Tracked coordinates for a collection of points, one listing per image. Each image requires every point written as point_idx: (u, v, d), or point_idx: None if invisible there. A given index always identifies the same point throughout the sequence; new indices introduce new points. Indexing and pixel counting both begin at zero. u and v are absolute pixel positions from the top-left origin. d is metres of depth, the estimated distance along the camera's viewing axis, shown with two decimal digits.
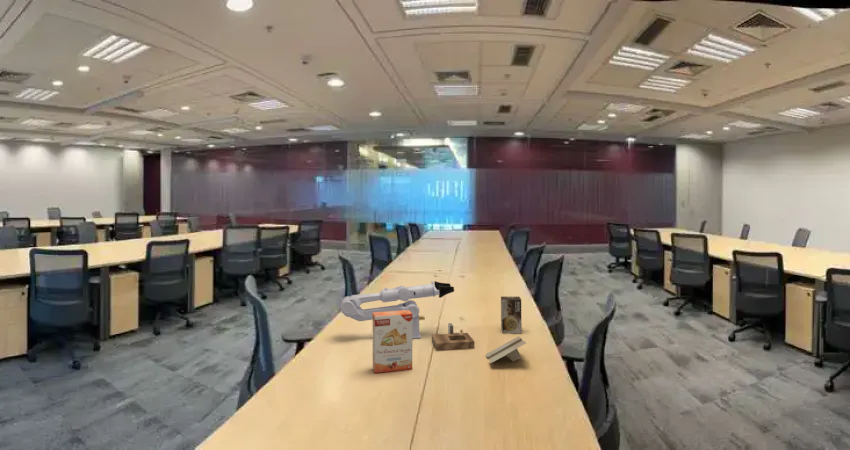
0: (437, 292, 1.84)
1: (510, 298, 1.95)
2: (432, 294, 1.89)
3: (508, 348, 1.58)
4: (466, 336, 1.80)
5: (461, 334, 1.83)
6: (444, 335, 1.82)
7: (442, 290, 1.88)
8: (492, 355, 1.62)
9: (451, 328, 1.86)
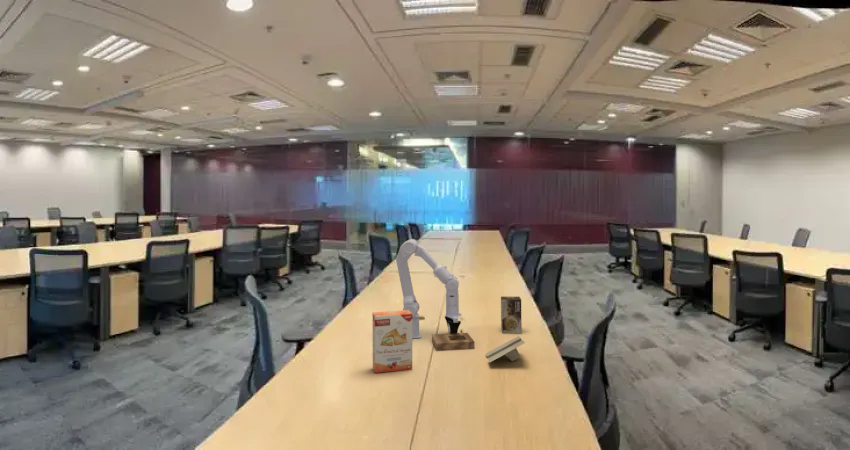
0: (456, 320, 1.81)
1: (510, 298, 1.95)
2: (449, 314, 1.86)
3: (507, 348, 1.59)
4: (466, 336, 1.80)
5: (461, 334, 1.83)
6: (444, 335, 1.82)
7: (454, 324, 1.85)
8: (492, 354, 1.63)
9: None
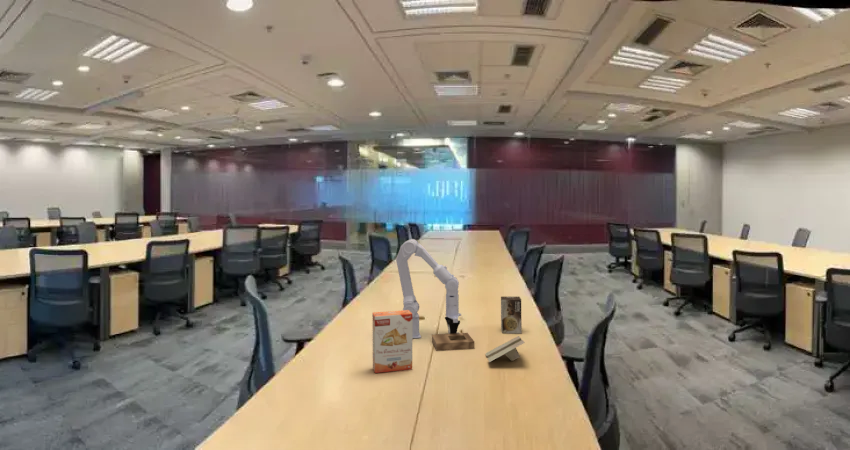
0: (456, 320, 1.81)
1: (510, 298, 1.95)
2: (449, 314, 1.86)
3: (507, 347, 1.59)
4: (466, 336, 1.80)
5: (461, 334, 1.83)
6: (444, 335, 1.82)
7: (453, 324, 1.86)
8: (491, 354, 1.63)
9: None
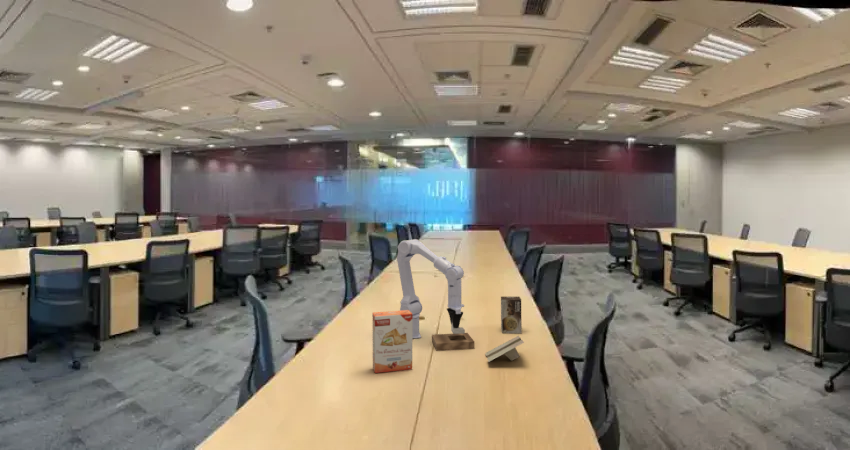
0: (458, 311, 1.71)
1: (510, 298, 1.95)
2: (452, 305, 1.75)
3: (506, 347, 1.59)
4: (466, 336, 1.80)
5: (461, 334, 1.83)
6: (444, 335, 1.82)
7: (456, 315, 1.75)
8: (491, 354, 1.64)
9: None
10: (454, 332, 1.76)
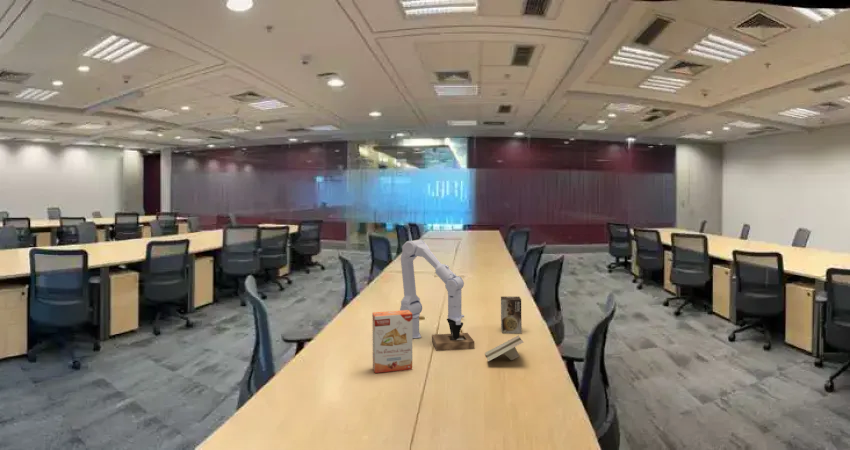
0: (459, 322, 1.71)
1: (510, 298, 1.95)
2: (452, 316, 1.76)
3: (506, 347, 1.59)
4: (466, 336, 1.80)
5: (461, 334, 1.83)
6: (444, 335, 1.82)
7: (456, 326, 1.76)
8: (491, 354, 1.64)
9: None
10: None
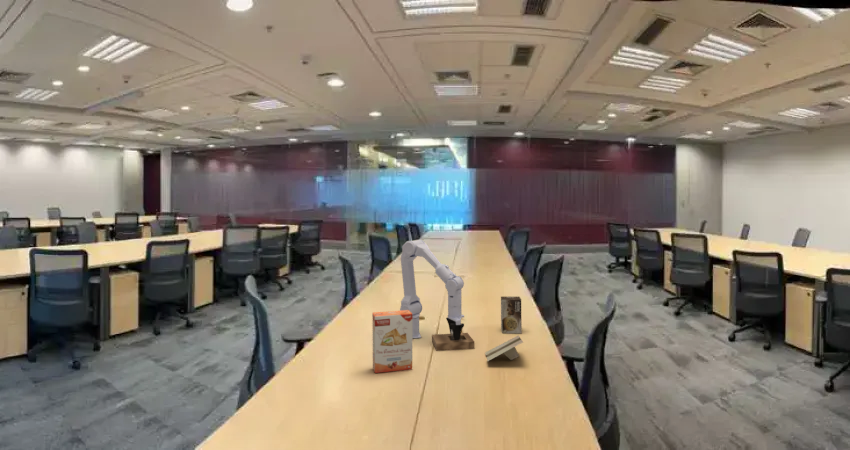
0: (459, 322, 1.71)
1: (510, 298, 1.95)
2: (452, 316, 1.76)
3: (506, 347, 1.60)
4: (466, 336, 1.80)
5: (461, 334, 1.83)
6: (444, 335, 1.82)
7: (457, 327, 1.74)
8: (491, 353, 1.64)
9: None
10: None
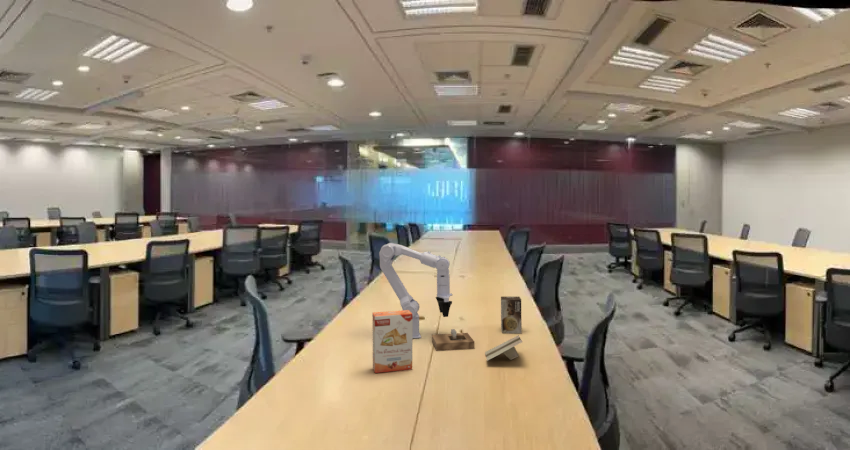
0: (447, 300, 1.81)
1: (510, 298, 1.95)
2: (440, 294, 1.86)
3: (505, 346, 1.60)
4: (466, 336, 1.80)
5: (461, 334, 1.83)
6: (444, 335, 1.82)
7: (445, 304, 1.84)
8: (490, 353, 1.65)
9: (454, 334, 1.76)
10: None
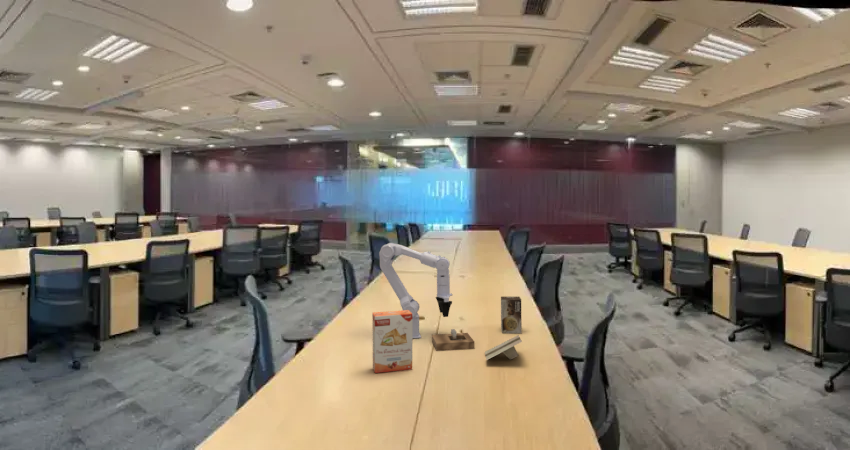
0: (447, 300, 1.81)
1: (510, 298, 1.95)
2: (440, 294, 1.86)
3: (505, 346, 1.60)
4: (466, 336, 1.80)
5: (461, 334, 1.83)
6: (444, 335, 1.82)
7: (445, 304, 1.84)
8: (490, 353, 1.65)
9: (454, 334, 1.76)
10: None
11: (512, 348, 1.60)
